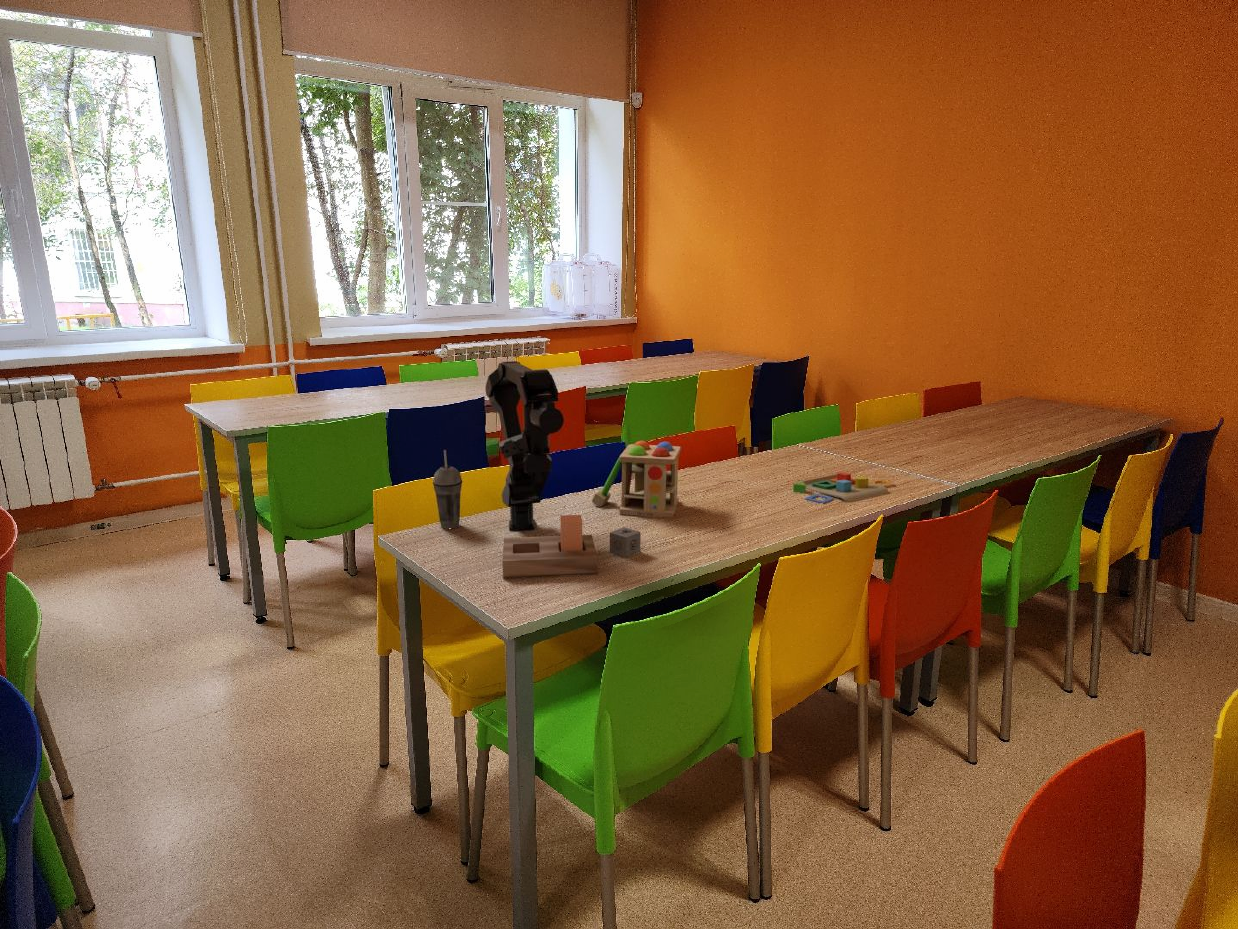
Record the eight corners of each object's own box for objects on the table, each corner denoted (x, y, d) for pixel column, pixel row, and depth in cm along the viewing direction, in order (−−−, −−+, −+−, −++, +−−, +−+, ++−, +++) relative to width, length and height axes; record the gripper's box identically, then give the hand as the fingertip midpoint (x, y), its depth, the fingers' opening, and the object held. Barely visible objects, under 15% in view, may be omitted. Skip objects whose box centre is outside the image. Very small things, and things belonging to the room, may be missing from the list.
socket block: (504, 554, 181) (503, 538, 180) (591, 550, 184) (591, 534, 183) (503, 578, 168) (502, 561, 167) (597, 574, 170) (597, 557, 169)
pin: (561, 557, 178) (560, 515, 176) (581, 556, 179) (580, 514, 176) (562, 565, 174) (561, 522, 171) (582, 564, 174) (582, 521, 172)
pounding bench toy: (587, 512, 211) (586, 447, 206) (598, 497, 224) (598, 435, 219) (673, 518, 206) (674, 451, 202) (679, 501, 220) (681, 438, 215)
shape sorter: (858, 475, 248) (859, 461, 247) (908, 490, 232) (910, 475, 231) (778, 492, 231) (779, 477, 229) (826, 509, 215) (827, 493, 214)
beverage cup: (466, 521, 204) (463, 445, 198) (462, 531, 197) (458, 452, 191) (438, 521, 203) (433, 445, 198) (432, 531, 196) (427, 452, 191)
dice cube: (640, 552, 183) (640, 531, 182) (626, 558, 179) (626, 537, 178) (623, 547, 186) (623, 527, 185) (609, 553, 183) (609, 532, 181)
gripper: (501, 417, 190) (503, 480, 194) (499, 434, 172) (502, 503, 176) (548, 416, 191) (549, 478, 195) (551, 433, 173) (552, 501, 177)
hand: (537, 490), depth 186 cm, fingers open, 9 cm apart
